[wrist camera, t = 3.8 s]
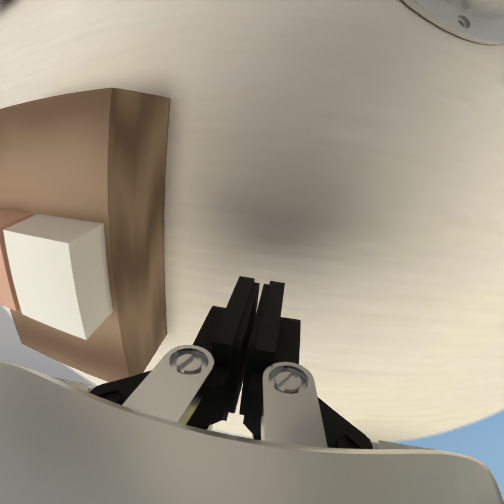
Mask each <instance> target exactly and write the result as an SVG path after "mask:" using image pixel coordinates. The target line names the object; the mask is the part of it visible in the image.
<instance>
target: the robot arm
mask: <svg viewBox="0 0 504 504" xmlns="http://www.w3.org/2000/svg"><path fill="white" fill-rule="evenodd" d="M402 1H404V2H405V3H406V4H407V5H408V6H409V7H410V8H412V9H413V10H415V11H416V12H418V13H419V14H420V15H422V16H423V17H424V18H426V19H427V20H429V21H431V22H432V23H434V24H436V25H437V26H439V27H441V28H442V29H444V30H446V31H448V32H450V33H452V34H455V35H457V36H459V37H461V38H463V39H467V40H470V41H473V42H476V43H481V44H489V45H495V44H504V0H402ZM254 281H255V279H254V278H248V277H242V276H240V277H239V279H238V281H237V284H236V286H235V288H234V291H233V293H232V295H231V298H230V300H229V302H228V305H227V307H226V308H222V307H216V306H212V308H211V309H210V311H209V313H208V315H207V317H206V319H205V321H204V323H203V325H202V327H201V329H200V331H199V333H198V335H197V337H196V339H195V341H194V343H193V345H182V346H177V347H175V348H173V349H171V350H170V351H169V352H168V353H167V354H166V355H165V356H164V357H163V358H162V359H161V360H160V362H159V363H158V364H157V365H156V366H155V367H154V369H153V370H151V371H148V372H145V373H141V374H138V375H134V376H131V377H127V378H123V379H120V380H116V381H112V382H109V383H105V384H102V385H99V386H96V387H95V388H94V389H93V388H91V387H90V384H84V383H79V382H74V381H68V380H64V379H60V378H55V377H51V376H48V375H45V374H43V373H41V372H38V371H36V370H33V369H30V368H27V367H24V366H20V365H16V364H13V363H6V362H0V504H504V502H503V499H502V496H501V493H500V490H499V488H498V485H497V483H496V481H495V478H494V477H493V475H492V473H491V472H490V470H489V469H488V468H487V466H486V465H485V464H483V463H482V462H481V461H479V460H477V459H475V458H472V457H469V456H466V455H462V454H458V453H454V452H448V451H439V450H434V449H429V448H422V447H415V446H408V445H402V444H396V443H391V442H385V441H380V440H379V441H378V443H372V442H371V441H370V439H369V438H368V437H367V436H366V435H365V434H363V433H362V432H361V431H359V430H358V429H357V428H356V427H354V426H353V425H352V424H350V423H349V422H348V421H347V420H345V419H344V418H343V417H342V416H340V415H339V414H338V413H337V412H335V411H334V410H333V409H332V408H330V407H329V406H328V405H327V404H326V403H324V402H323V401H322V400H321V399H320V398H318V397H317V392H316V387H315V382H314V379H313V376H312V374H311V373H310V372H309V371H308V370H307V369H306V368H304V367H303V366H301V365H299V350H300V325H301V321H300V320H297V319H290V318H283V317H280V316H281V309H282V301H283V293H284V285H285V283H281V282H274V281H270V285H268V284H264V286H263V290H262V293H261V297H260V301H259V305H258V309H257V302H258V293H259V284H260V283H255V282H254ZM256 310H257V313H256ZM242 383H243V387H242ZM241 387H242V396H241V404H240V413H239V414H241V415H244V421H243V424H244V425H245V426H246V427H247V428H248V429H249V430H250V431H251V433H252V439H250V438H244V437H239V436H233V435H228V434H223V433H218V432H214V431H212V427H213V424H214V423H217V422H219V421H221V420H225V421H226V420H227V416H228V413H229V412H230V413H235V410H236V406H237V402H238V398H239V394H240V391H241Z"/></svg>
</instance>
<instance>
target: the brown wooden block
mask: <svg viewBox="0 0 504 504" xmlns="http://www.w3.org/2000/svg"><path fill="white" fill-rule="evenodd" d="M169 107H170V98H166V97H161V96H156V95H151V94H146V93H140V92H135V91H129V90H123V89H117V88H105V89H97V90H90V91H83V92H76V93H70V94H64V95H59V96H54V97H48V98H44V99H39V100H34V101H30V102H26V103H22V104H18V105H14V106H10V107H6V108H3V109H0V209H4V210H12V211H19V212H26V213H32V216H34V215H37V214H41V215H48V216H55V217H62V218H70V219H77V220H84V221H91V222H98V223H104V231H105V245H106V256H107V267H108V276H109V284H110V292H111V300H112V307H113V312H112V313H111V314H110V315H109V316H108V317H107V318H106V319H105V320H104V322H103V323H102V324H101V325H100V326H99V327H98V328H97V329H96V330H95V331H94V332H93V333H92V334H91V335H90V337H89V338H88V339H87V340H85V339H82V338H79V337H77V336H74V335H71V334H69V333H66V332H63V331H61V330H58V329H56V328H53V327H51V326H49V325H46V324H44V323H41V322H39V321H37V320H34V319H32V318H30V317H28V316H25V315H23V314H22V312H21V309H19V310H18V311H14V310H12V309H10V311H11V314H12V317H13V320H14V323H15V326H16V329H17V332H18V335H19V337H20V340H21V343H22V344H24V345H26V346H28V347H30V348H32V349H34V350H36V351H38V352H40V353H42V354H44V355H46V356H48V357H51V358H53V359H55V360H57V361H59V362H61V363H64V364H66V365H68V366H70V367H73V368H75V369H78V370H80V371H82V372H85V373H87V374H90V375H92V376H95V377H97V378H100V379H103V380H105V381H108V382H112V381H116V380H120V379H123V378H127V377H131V376H134V375H138V374H141V373H143V372H144V370H145V369H146V367H147V365H148V364H149V362H150V361H151V359H152V357H153V356H154V354H155V353H156V351H157V349H158V348H159V346H160V345H161V343H162V341H163V340H164V338H165V337H166V335H167V325H166V307H165V281H164V190H165V165H166V147H167V132H168V119H169Z"/></svg>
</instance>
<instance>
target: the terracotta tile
mask: <svg viewBox="0 0 504 504" xmlns="http://www.w3.org/2000/svg"><path fill="white" fill-rule="evenodd" d="M30 217H32V213H26V212H19V211H12V210H4V209H0V304H2V305H4V306H6V307H8V308H10V309H12V310H14V311H18V310H19V309H21V308H20V305H19V301H18V298H17V294H16V290H15V286H14V282H13V278H12V274H11V269H10V265H9V260H8V255H7V250H6V244H5V238H4V232H3V230H4V229H6V228H8V227H10V226H12V225H14V224H17V223H19V222H21V221H23V220H25V219H28V218H30Z"/></svg>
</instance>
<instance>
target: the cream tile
mask: <svg viewBox="0 0 504 504" xmlns="http://www.w3.org/2000/svg"><path fill="white" fill-rule="evenodd" d="M3 232H4V238H5V244H6V250H7V255H8V260H9V265H10V269H11V274H12V278H13V282H14V286H15V290H16V294H17V298H18V301H19V305H20V308H21V312H22V314H23V315H25V316H28V317H30V318H32V319H34V320H37V321H39V322H41V323H44V324H46V325H49V326H51V327H53V328H56V329H58V330H61V331H63V332H66V333H69V334H71V335H74V336H77V337H79V338H82V339H85V340H87V339H88V338H89V337H90V335H91V334H92V333H93V332H94V331H95V330H96V329H97V328H98V327H99V326H100V325H101V324H102V323H103V322H104V320H105V319H106V318H107V317H108V316H109V315H110V314H111V313H112V312H113V307H112V300H111V292H110V284H109V276H108V267H107V256H106V245H105V231H104V223H98V222H91V221H84V220H77V219H70V218H62V217H55V216H48V215H41V214H37V215H34V216H32V217H30V218H28V219H25V220H23V221H21V222H19V223H17V224H14V225H12V226H10V227H8V228H6V229H4V230H3Z"/></svg>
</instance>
